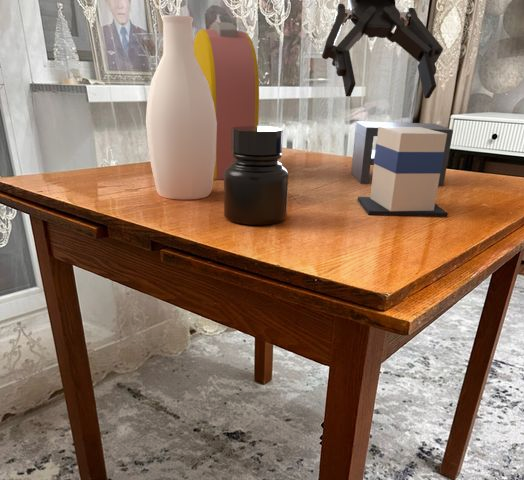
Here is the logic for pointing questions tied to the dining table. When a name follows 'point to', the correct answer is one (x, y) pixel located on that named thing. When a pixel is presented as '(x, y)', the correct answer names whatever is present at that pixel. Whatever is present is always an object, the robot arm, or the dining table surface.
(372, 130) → the shelf
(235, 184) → the ink bottle
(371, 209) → the mat
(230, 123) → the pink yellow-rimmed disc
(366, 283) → the dining table surface
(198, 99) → the bottle
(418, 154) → the box
